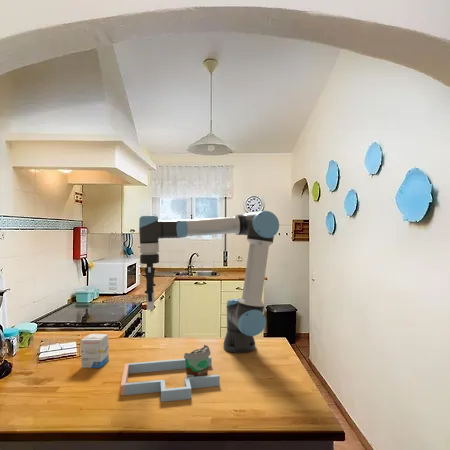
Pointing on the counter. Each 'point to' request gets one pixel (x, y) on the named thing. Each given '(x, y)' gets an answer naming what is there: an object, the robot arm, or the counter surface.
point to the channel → (159, 385)
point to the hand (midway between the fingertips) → (150, 305)
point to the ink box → (94, 351)
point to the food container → (197, 362)
